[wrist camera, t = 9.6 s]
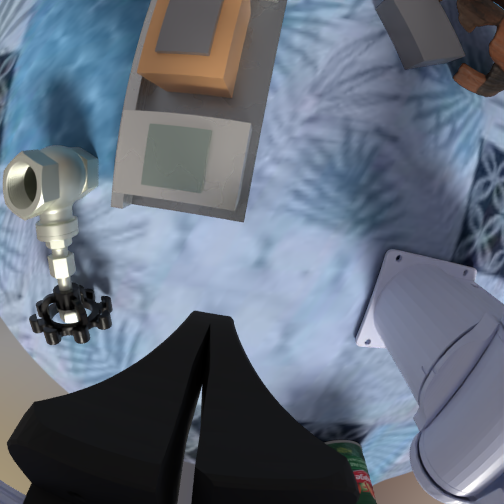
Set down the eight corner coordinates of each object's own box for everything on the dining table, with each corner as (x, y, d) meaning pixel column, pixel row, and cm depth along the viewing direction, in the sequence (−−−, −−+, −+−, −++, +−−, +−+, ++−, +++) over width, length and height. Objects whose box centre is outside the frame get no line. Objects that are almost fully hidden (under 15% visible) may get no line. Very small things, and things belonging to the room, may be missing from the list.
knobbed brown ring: (417, 74, 16) (451, -12, 8) (416, 16, 18) (434, -50, 10) (538, 141, 14) (591, 90, 6) (519, 71, 16) (553, 21, 7)
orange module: (250, 13, 14) (249, -31, 9) (231, 98, 16) (222, 76, 11) (187, 8, 14) (166, -33, 9) (166, 91, 16) (133, 71, 11)
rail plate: (296, -43, 13) (307, -90, 7) (244, 218, 19) (239, 247, 14) (186, -52, 13) (169, -96, 7) (126, 199, 19) (82, 219, 13)
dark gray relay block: (415, 7, 14) (434, -7, 11) (443, 63, 15) (465, 56, 13) (374, 10, 14) (389, -6, 12) (403, 70, 16) (424, 61, 13)
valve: (46, 148, 18) (60, 294, 22) (-14, 154, 11) (16, 335, 15) (120, 141, 18) (128, 304, 22) (65, 140, 12) (91, 355, 15)
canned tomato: (372, 437, 27) (397, 516, 16) (346, 471, 29) (361, 540, 19) (306, 439, 26) (318, 529, 16) (286, 473, 29) (292, 548, 19)
